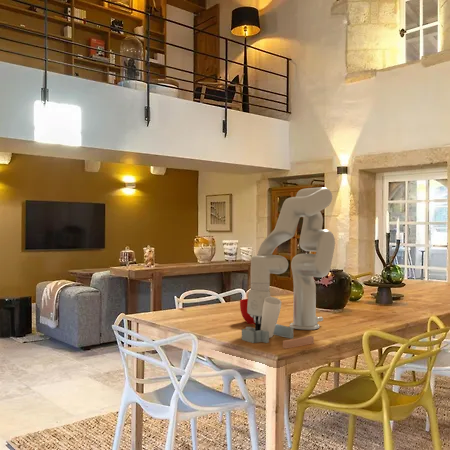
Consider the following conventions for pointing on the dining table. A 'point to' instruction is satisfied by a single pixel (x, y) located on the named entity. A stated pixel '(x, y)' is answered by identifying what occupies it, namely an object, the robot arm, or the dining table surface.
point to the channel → (280, 330)
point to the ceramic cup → (245, 311)
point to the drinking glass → (270, 314)
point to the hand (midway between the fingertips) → (259, 333)
